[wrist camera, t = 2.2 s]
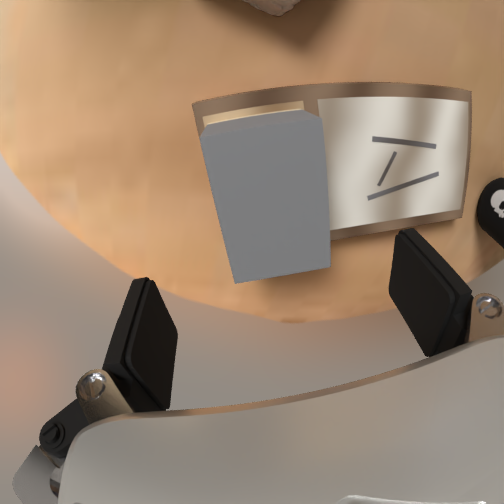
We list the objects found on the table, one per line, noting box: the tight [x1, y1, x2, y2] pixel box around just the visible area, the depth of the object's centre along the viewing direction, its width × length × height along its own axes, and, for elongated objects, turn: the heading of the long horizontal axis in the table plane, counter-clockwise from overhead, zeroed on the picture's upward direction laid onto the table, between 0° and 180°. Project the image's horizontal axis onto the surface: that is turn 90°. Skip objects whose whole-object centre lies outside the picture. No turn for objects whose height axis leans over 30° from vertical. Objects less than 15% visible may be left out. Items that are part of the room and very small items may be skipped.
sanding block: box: [199, 109, 331, 284], centre depth 18 cm, size 6×9×5 cm, turn 9°
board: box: [192, 82, 472, 241], centre depth 20 cm, size 22×12×2 cm, turn 99°
